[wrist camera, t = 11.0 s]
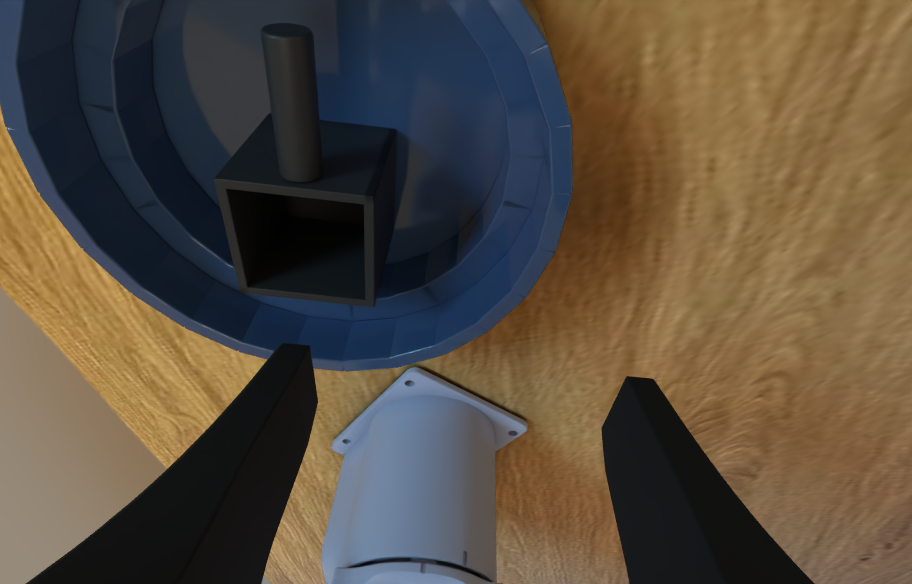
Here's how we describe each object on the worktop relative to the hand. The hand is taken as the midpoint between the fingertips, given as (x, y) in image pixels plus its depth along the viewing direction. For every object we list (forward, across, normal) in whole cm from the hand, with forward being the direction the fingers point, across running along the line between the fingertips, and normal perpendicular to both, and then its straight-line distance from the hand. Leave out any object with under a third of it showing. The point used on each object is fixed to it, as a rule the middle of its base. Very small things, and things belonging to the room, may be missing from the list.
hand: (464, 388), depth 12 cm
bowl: (+10, +5, -2) cm, 11 cm away
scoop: (+9, +5, -2) cm, 11 cm away
